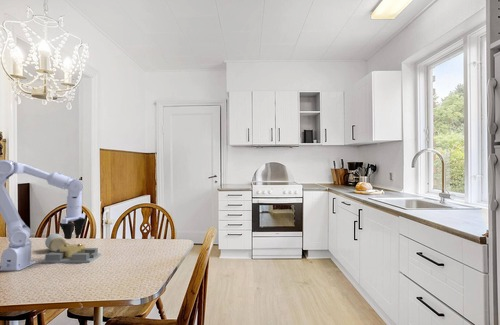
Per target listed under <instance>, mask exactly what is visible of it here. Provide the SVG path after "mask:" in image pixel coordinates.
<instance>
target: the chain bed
mask: <svg viewBox="0 0 500 325" xmlns="http://www.w3.org/2000/svg"><path fill="white" fill-rule="evenodd" d="M98 249H99V248H98V247H85V253H74V254H72V258H63V253H60V248H59V249H57V252H53V251H51V252H49V253H46V254H45V256H44V259H42V260H41V264H43V263H44V264H64V263H65V264H68V263H69V264H81V263H82V264H83V263H84V264H86V263H87V264H89V263H91V262H93V261H94V260H96V259H98V258H99V257H101V255H102V253H100V252H99V250H98Z"/></svg>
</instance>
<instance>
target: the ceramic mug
mask: <svg viewBox="0 0 500 325" xmlns="http://www.w3.org/2000/svg"><path fill="white" fill-rule="evenodd" d="M44 244H45V247H46V248H47V249H48V250H49V251H50V252H56V253H57V249H59V248H60V246H62V245H64V244H69V243H68V242H66V239H65V237H63V236H62V235H61V233H60V234H59V233H52V234H50V235H48V236H47V238H46V239H45V241H44Z"/></svg>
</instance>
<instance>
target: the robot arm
mask: <svg viewBox="0 0 500 325" xmlns="http://www.w3.org/2000/svg"><path fill="white" fill-rule="evenodd" d="M14 174H17V175H19V174H27V175H30V176H33V177H35V178H39V179H42V180H45V181H46V182H47V185H50V186H52V187H56V188H59V189H62V190H67V196H66V212H65V213H66V216H64V217H63V218H61V222H60V223H59V227H60V228H61V230H62V233H63V236H64V239H65V240H71V239H72V238H73V237H72V236H73V230H74V235H75V236H80V235H82V232H83V230H84V229H83V228H84V226H85V224H86V223H87V218H86V214H85V213H82V212H83V211H82V210H83V209H82V207H83V206H82V205H83V192H82V190H83V188H84V186H83V182H82V181H80V180H79V179H76V178H74V177H73V176H71V177H70V176H67V175H65V174H63V173H62V172H60V171H58V172H50V173H49V172H48V171H45V170H42V169H39V168H37V167H34V166H31V165H29V164H26V163H22V162H18V161H14V160H9V159H0V215H1V217H2V219H3V221H4V223H5V224H6V228H7V229H6V230H7V233H8V242H9V243H8V247H7V248H6V249H4V250H3V251H2V253H1V259H0V271H1V272H3V271H8V272H9V271H11V272H12V271H13V272H15V271H16V272H17V271H21V270H23V269H26V268H28V267H30V266H32V265H34V264H37V261H31V260H32V241H31V240H30V238H31V236H32V233H33V232H32V229H31V227H29V226H28V225H27V224H26V223H25V222H24V220H23V219H22V218H21V216H20V214H19V212H18V210H17V208H16V205H15V204H14V202H13V200H12V198H11V196H10V194H9V192H8V189H7V188H6V186H5V184H6V183H7V182H8V180H9V179H10V177H12V176H13V175H14Z"/></svg>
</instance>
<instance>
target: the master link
mask: <svg viewBox="0 0 500 325" xmlns="http://www.w3.org/2000/svg"><path fill="white" fill-rule="evenodd" d="M85 248H86V244H82V243H78V244H75V243H74V244H71V243H68V244H64V245H62V246H60V253H63V258H72V254H74V253H85Z"/></svg>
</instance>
